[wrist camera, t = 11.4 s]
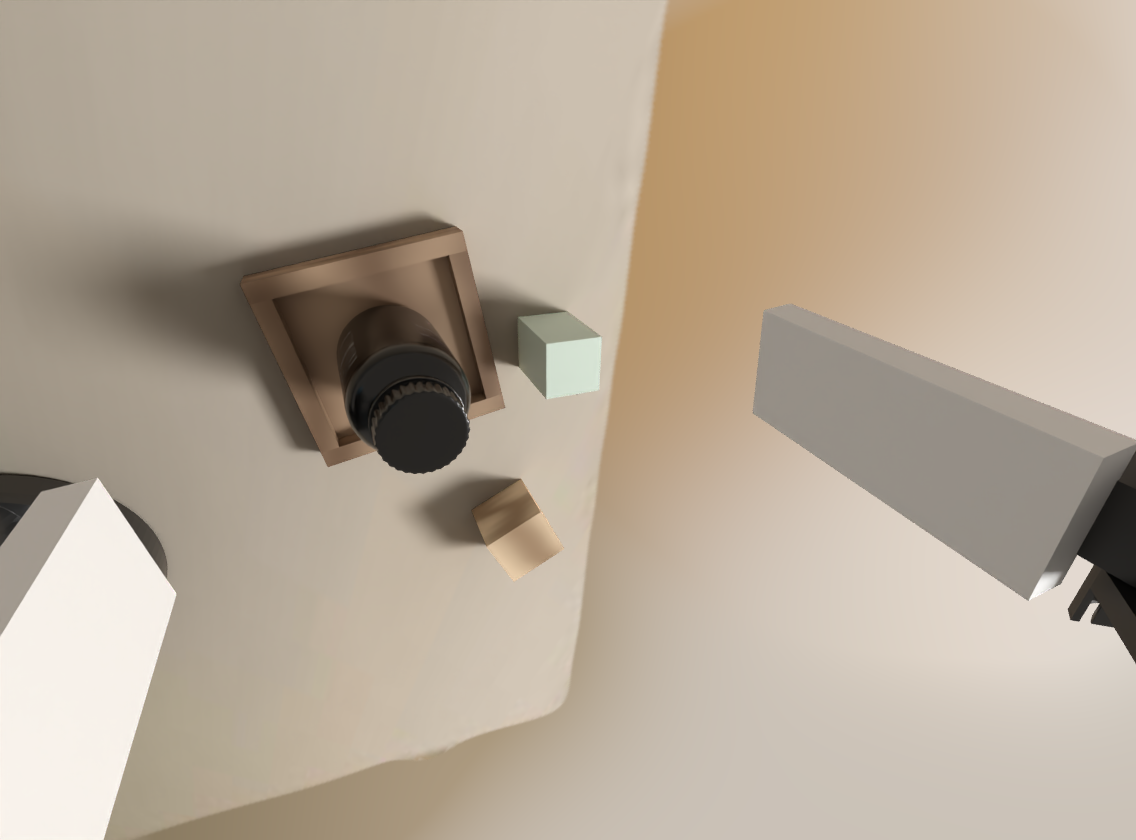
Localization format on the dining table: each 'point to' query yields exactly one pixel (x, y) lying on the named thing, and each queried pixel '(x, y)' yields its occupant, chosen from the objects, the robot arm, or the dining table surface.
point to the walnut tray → (352, 285)
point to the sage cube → (559, 354)
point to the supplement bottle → (403, 389)
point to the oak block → (516, 530)
